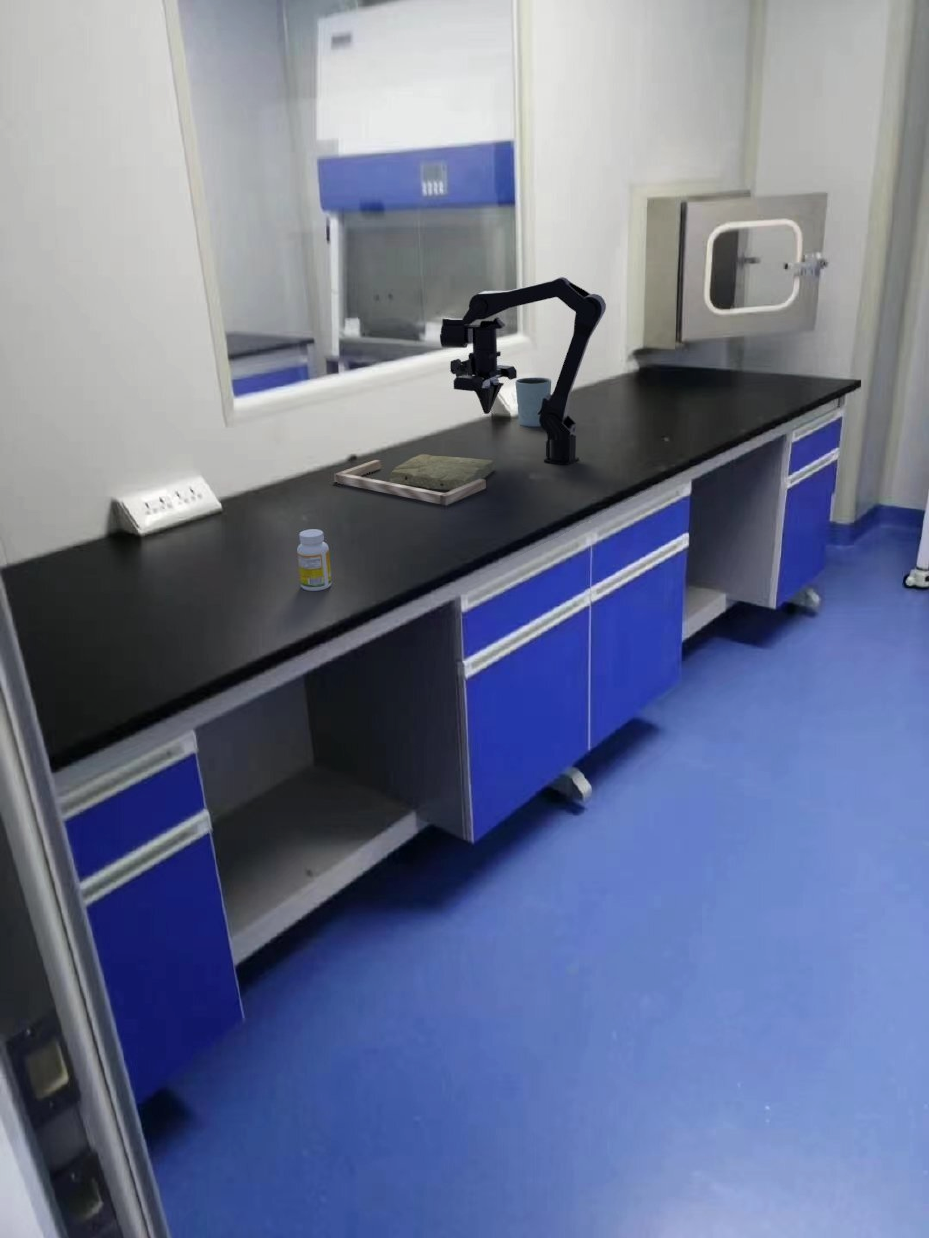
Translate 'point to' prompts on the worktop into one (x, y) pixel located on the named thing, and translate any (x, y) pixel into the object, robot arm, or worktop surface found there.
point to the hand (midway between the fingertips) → (486, 413)
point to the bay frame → (447, 498)
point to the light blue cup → (531, 399)
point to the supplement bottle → (314, 561)
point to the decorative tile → (441, 471)
